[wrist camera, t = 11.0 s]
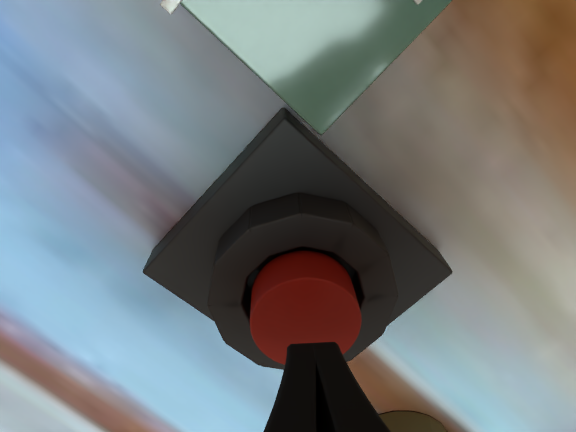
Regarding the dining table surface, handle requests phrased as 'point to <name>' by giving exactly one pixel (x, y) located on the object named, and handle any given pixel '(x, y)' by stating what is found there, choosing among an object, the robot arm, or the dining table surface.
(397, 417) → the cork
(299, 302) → the button
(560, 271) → the dining table surface
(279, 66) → the panel
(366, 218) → the button housing
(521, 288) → the dining table surface
